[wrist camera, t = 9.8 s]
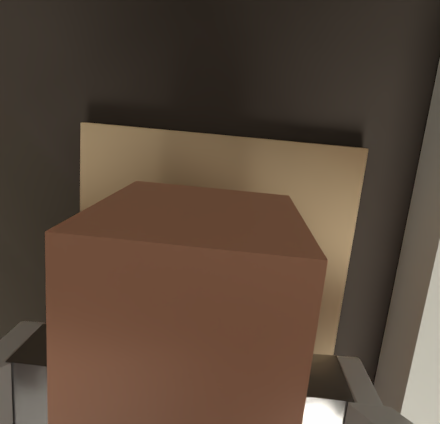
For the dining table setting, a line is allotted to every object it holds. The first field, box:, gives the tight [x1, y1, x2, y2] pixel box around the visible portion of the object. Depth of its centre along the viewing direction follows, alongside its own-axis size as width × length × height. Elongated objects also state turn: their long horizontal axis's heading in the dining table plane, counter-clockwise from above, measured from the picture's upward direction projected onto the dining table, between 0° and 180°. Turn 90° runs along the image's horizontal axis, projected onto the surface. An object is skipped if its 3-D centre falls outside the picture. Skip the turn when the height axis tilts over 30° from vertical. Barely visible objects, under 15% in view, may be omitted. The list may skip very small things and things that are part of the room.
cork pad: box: [80, 122, 368, 355], centre depth 15 cm, size 10×10×1 cm
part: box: [45, 181, 328, 424], centre depth 10 cm, size 7×4×6 cm, turn 175°
